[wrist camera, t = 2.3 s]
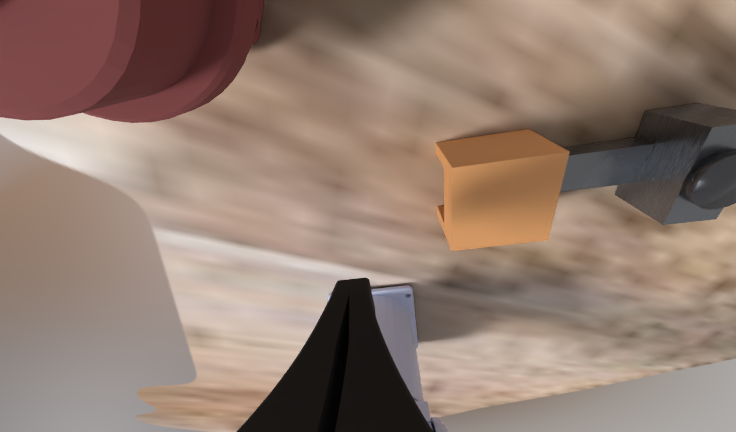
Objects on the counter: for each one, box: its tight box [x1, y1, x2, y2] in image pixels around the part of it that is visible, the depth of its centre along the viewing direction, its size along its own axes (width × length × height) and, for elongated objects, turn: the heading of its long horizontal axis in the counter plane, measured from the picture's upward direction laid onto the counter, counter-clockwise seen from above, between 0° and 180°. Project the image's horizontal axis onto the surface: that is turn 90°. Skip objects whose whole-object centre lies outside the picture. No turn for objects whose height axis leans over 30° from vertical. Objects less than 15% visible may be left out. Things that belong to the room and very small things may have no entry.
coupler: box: [560, 103, 736, 225], centre depth 17 cm, size 6×10×5 cm, turn 99°
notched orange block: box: [436, 129, 570, 251], centre depth 18 cm, size 6×6×4 cm
